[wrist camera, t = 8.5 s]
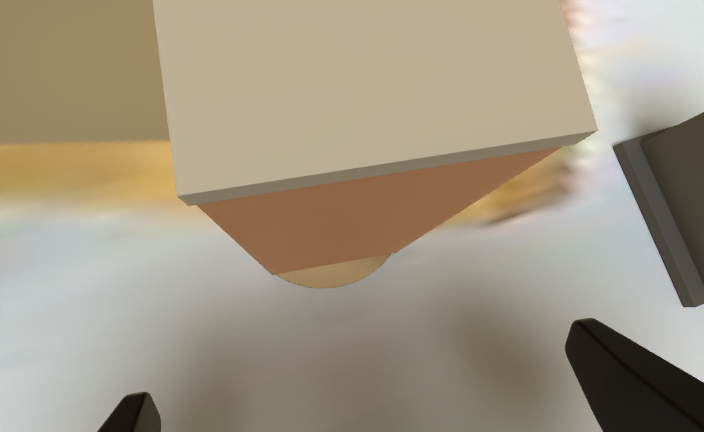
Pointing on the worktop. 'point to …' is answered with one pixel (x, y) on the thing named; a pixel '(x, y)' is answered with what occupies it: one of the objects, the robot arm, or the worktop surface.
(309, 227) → the tin
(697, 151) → the screen
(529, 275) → the worktop surface
